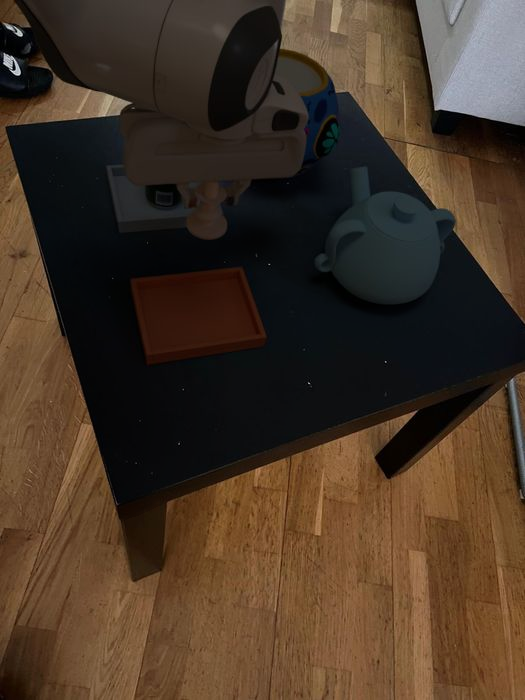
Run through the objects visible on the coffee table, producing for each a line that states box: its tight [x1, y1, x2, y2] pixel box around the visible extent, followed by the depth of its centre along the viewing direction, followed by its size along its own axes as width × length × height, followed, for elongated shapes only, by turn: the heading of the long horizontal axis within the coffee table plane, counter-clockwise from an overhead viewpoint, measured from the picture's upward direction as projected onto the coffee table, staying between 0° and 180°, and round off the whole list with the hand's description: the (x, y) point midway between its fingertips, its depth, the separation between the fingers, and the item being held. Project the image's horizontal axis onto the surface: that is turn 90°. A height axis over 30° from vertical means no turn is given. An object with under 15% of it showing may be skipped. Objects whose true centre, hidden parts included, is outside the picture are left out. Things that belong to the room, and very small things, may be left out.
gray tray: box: [105, 164, 224, 234], centre depth 76 cm, size 14×11×2 cm
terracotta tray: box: [130, 266, 267, 366], centre depth 65 cm, size 14×11×2 cm
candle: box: [186, 181, 228, 241], centre depth 65 cm, size 5×5×10 cm
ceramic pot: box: [271, 48, 341, 180], centre depth 79 cm, size 18×18×15 cm
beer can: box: [145, 184, 182, 210], centre depth 71 cm, size 5×5×12 cm
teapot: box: [314, 165, 457, 305], centre depth 72 cm, size 20×20×13 cm
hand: (209, 203), depth 66 cm, fingers closed on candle, 4 cm apart
